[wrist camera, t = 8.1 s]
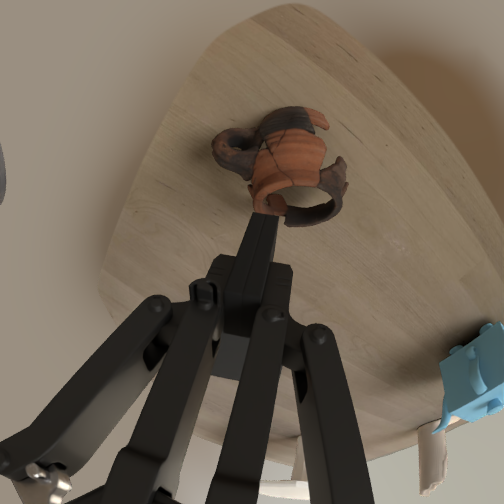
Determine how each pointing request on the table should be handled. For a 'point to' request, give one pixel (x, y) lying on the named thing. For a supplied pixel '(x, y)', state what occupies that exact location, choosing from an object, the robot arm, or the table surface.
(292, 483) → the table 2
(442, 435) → the candle
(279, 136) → the pottery mug
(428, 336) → the table surface
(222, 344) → the scale
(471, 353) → the teapot
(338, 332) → the table surface
